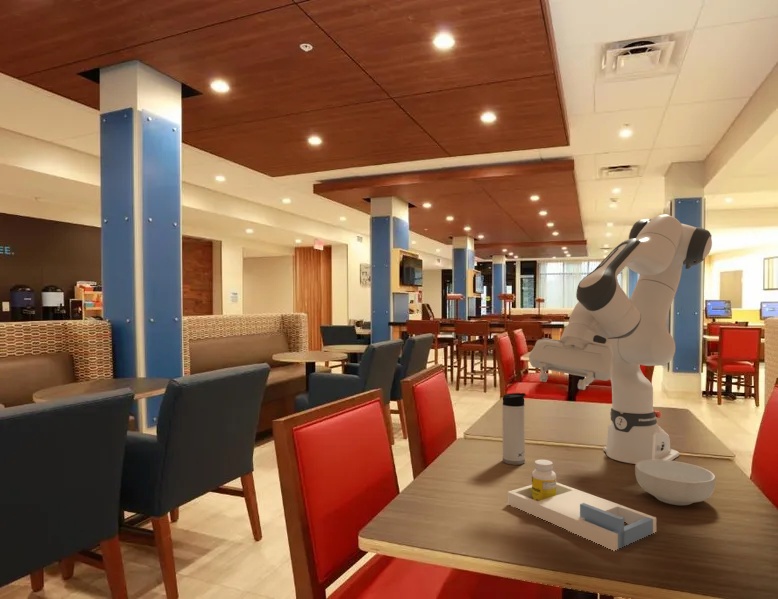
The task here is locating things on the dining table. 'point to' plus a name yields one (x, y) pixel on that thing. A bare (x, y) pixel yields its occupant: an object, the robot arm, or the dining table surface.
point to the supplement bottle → (543, 480)
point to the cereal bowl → (675, 481)
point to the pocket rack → (586, 515)
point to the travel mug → (514, 428)
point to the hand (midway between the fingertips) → (561, 383)
